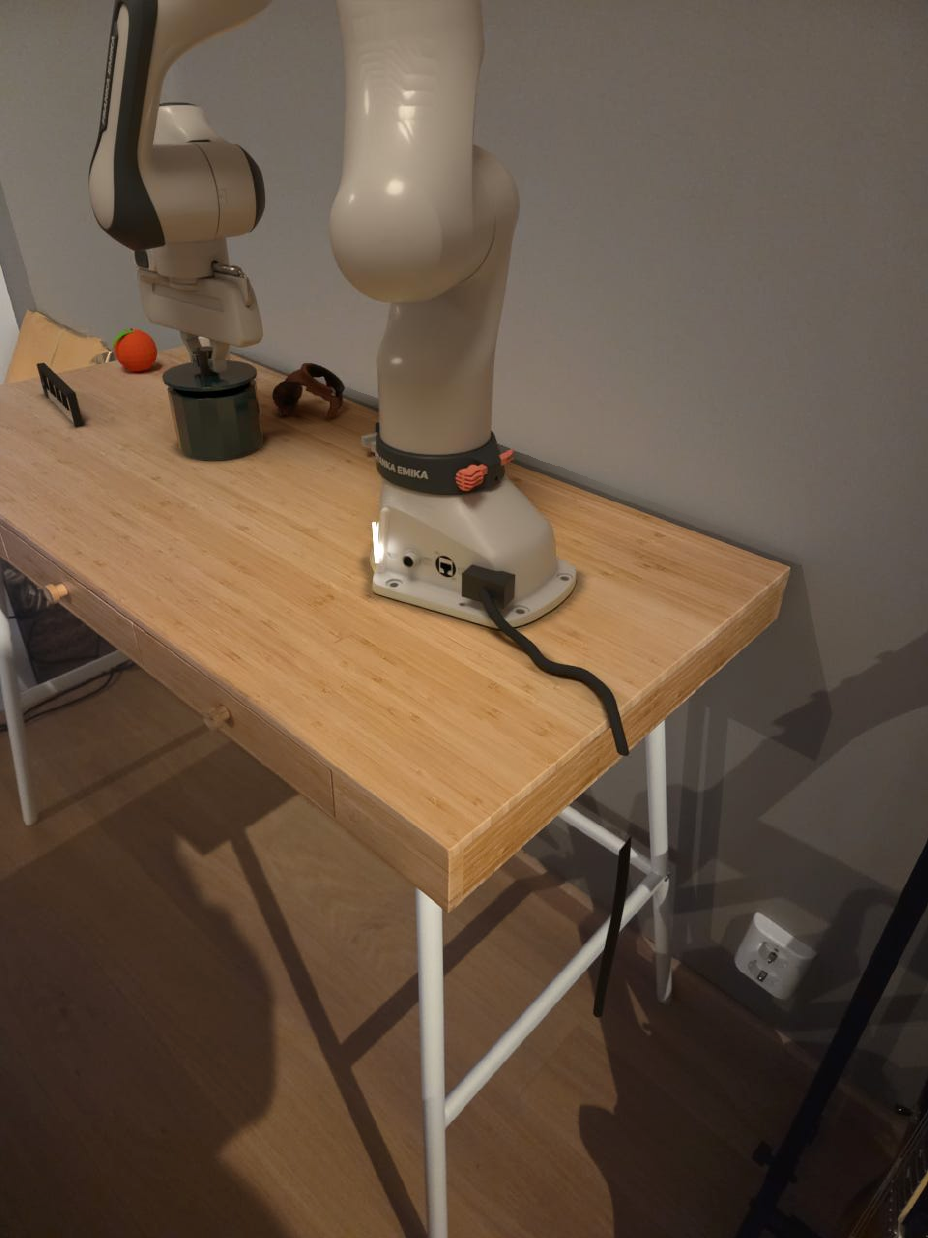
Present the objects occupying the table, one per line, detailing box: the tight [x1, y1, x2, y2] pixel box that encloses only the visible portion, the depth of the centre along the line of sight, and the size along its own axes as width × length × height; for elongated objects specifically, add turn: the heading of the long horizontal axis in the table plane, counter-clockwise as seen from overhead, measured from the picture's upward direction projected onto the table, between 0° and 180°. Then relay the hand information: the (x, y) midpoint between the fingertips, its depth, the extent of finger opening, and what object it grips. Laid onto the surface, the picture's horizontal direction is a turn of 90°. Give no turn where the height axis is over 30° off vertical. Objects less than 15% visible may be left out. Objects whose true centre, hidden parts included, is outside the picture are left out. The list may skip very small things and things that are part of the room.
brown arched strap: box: [271, 362, 346, 419], centre depth 125 cm, size 12×10×8 cm
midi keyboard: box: [35, 362, 84, 428], centre depth 126 cm, size 18×1×5 cm, turn 36°
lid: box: [161, 346, 258, 392], centre depth 110 cm, size 12×12×4 cm
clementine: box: [112, 328, 158, 372], centre depth 141 cm, size 8×7×7 cm
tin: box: [167, 379, 264, 462], centre depth 114 cm, size 11×11×8 cm
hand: (209, 368), depth 110 cm, fingers closed on lid, 2 cm apart
